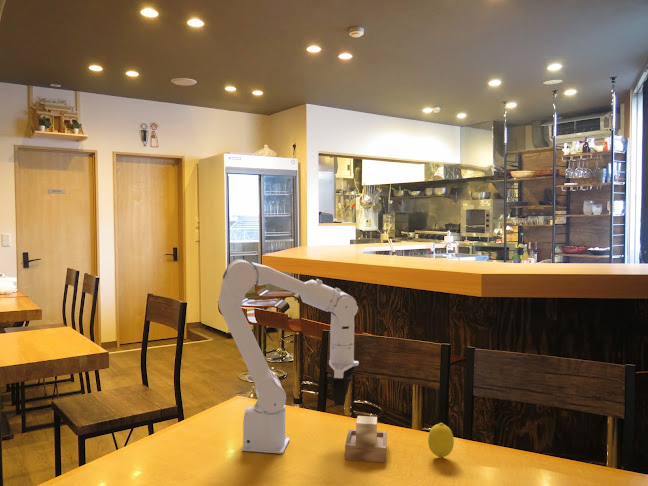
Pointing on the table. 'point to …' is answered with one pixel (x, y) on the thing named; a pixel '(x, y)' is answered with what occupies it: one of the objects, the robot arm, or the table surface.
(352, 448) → the tray
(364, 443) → the block
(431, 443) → the lemon
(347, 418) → the table surface
